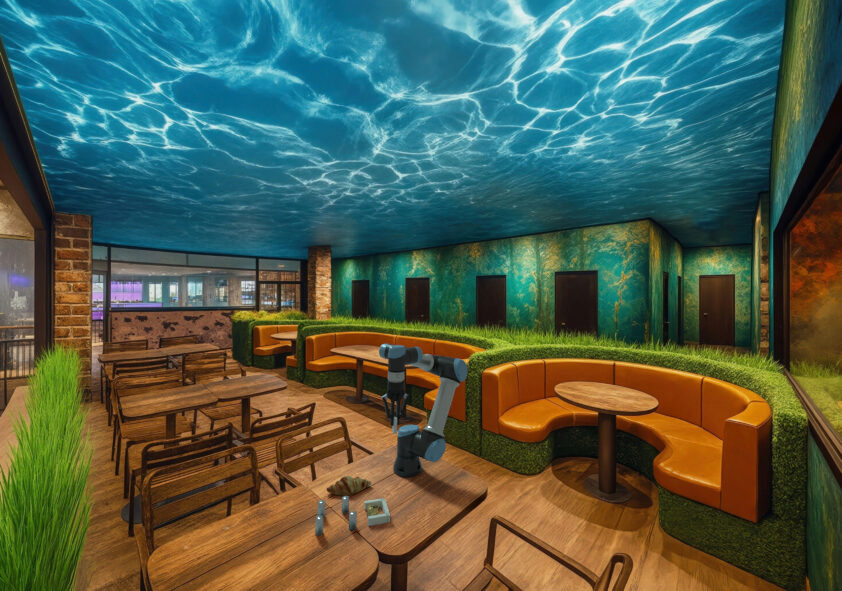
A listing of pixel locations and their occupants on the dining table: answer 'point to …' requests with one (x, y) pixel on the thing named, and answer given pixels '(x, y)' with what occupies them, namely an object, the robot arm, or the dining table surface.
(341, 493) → the croissant
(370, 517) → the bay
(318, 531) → the spacers
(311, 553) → the dining table surface
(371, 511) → the gold round piece
